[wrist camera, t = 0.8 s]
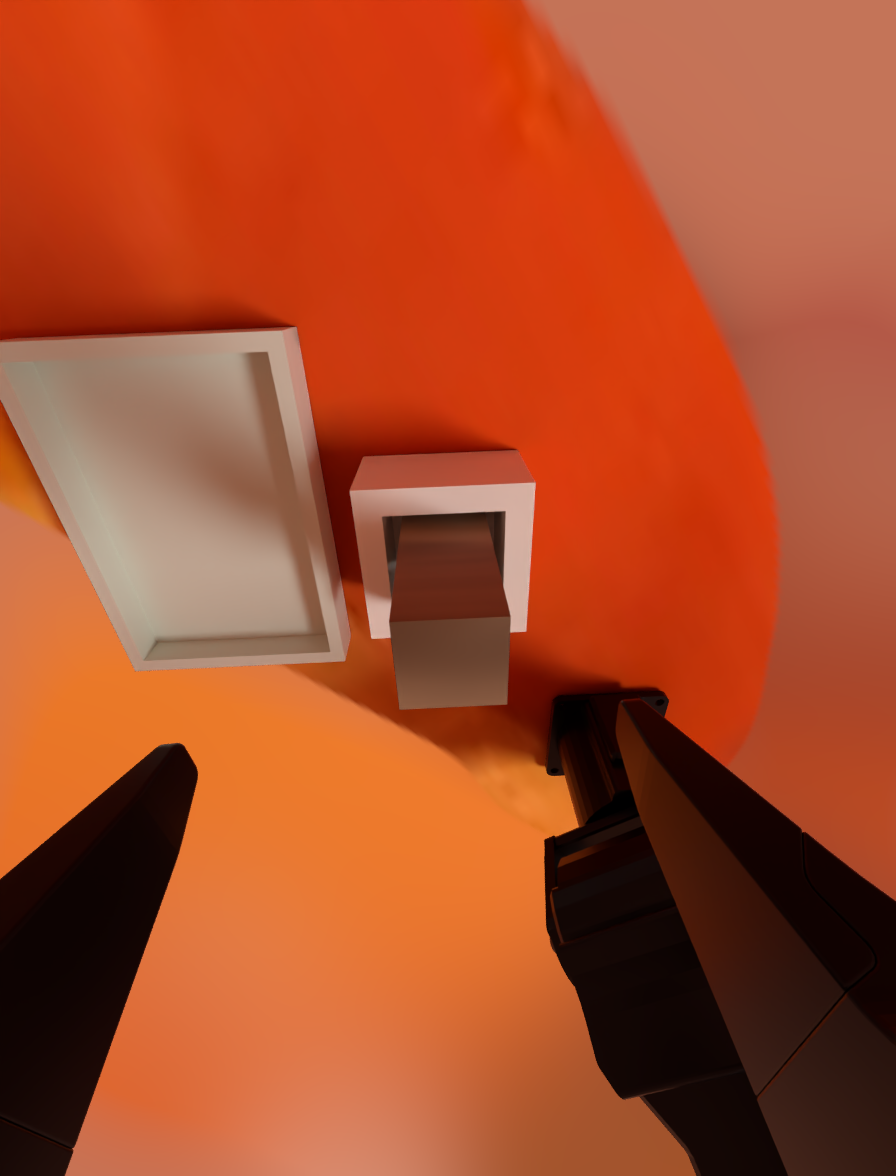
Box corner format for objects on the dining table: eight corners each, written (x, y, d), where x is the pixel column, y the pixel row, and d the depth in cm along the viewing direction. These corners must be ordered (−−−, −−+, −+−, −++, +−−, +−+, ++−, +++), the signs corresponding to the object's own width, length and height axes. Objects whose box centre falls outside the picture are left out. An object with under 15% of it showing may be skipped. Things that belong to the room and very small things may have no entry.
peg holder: (512, 581, 23) (526, 631, 20) (380, 588, 23) (371, 638, 20) (517, 449, 20) (535, 482, 17) (363, 456, 20) (349, 490, 17)
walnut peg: (480, 560, 22) (507, 704, 14) (410, 563, 22) (399, 709, 14) (480, 493, 20) (510, 616, 13) (404, 496, 20) (388, 621, 13)
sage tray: (351, 635, 25) (345, 661, 23) (155, 645, 25) (135, 671, 23) (296, 326, 17) (282, 330, 16) (17, 338, 17) (-28, 343, 16)
